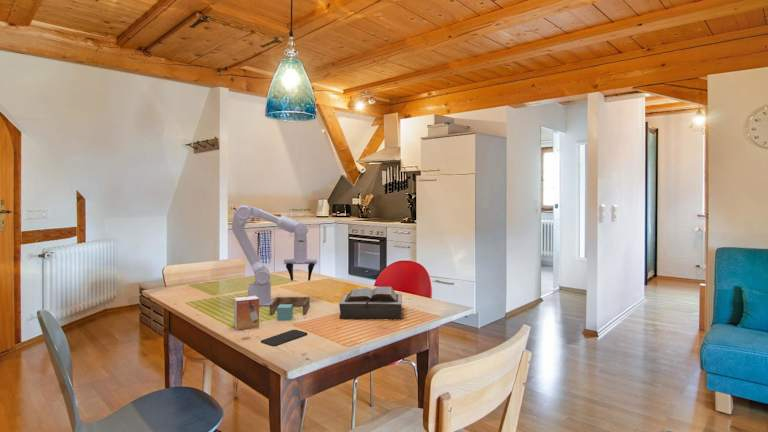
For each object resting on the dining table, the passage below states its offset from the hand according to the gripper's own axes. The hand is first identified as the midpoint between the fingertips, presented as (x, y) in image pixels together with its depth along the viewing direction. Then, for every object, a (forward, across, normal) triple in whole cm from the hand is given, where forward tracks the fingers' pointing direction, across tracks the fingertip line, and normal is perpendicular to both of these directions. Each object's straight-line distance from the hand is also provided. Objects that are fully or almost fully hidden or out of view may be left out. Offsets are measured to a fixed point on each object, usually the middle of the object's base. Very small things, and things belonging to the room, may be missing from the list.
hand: (300, 280), depth 194 cm
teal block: (+10, -2, -27) cm, 29 cm away
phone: (+10, +2, -50) cm, 51 cm away
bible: (+10, +32, -20) cm, 39 cm away
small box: (+10, -14, -37) cm, 41 cm away
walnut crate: (+9, -2, -15) cm, 18 cm away
